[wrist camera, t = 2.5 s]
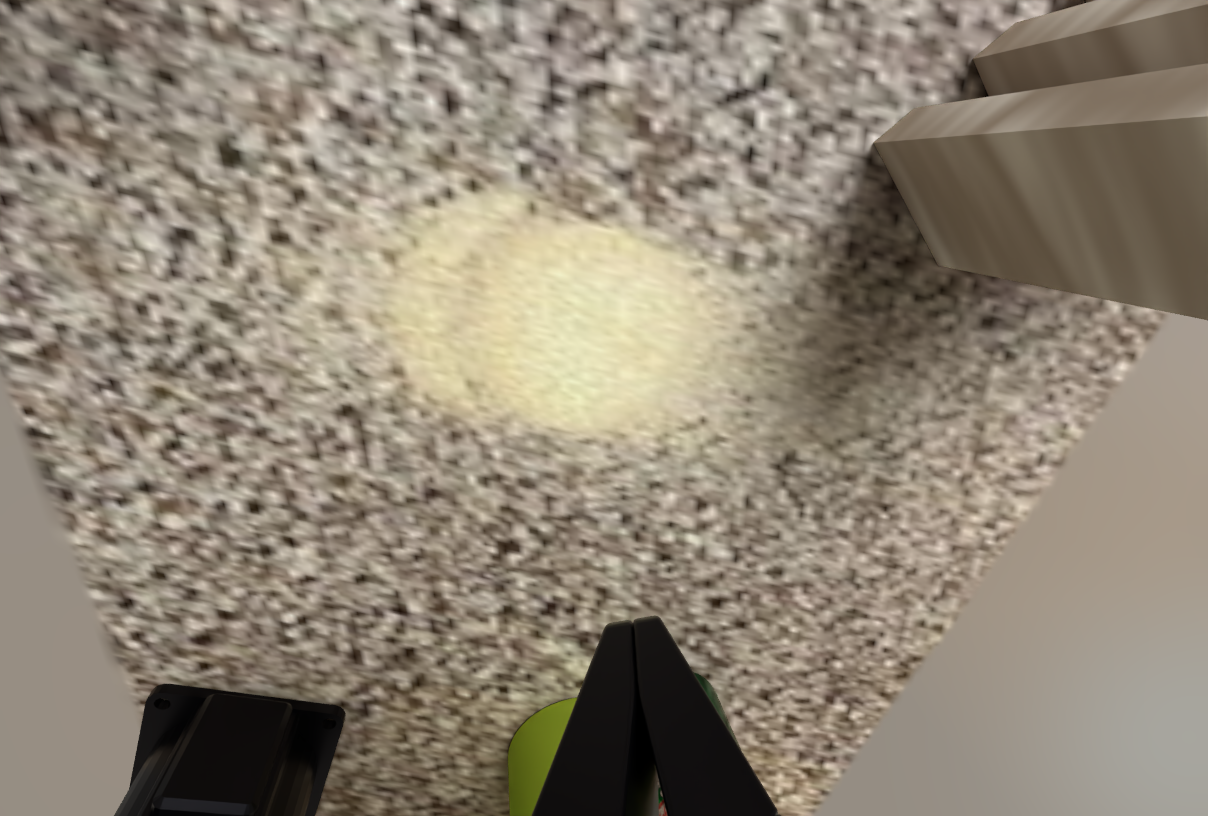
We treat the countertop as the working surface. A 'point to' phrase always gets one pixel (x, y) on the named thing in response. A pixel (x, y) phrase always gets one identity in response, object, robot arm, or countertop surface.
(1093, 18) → the domino
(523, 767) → the soap dispenser
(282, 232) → the countertop surface
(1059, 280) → the domino
